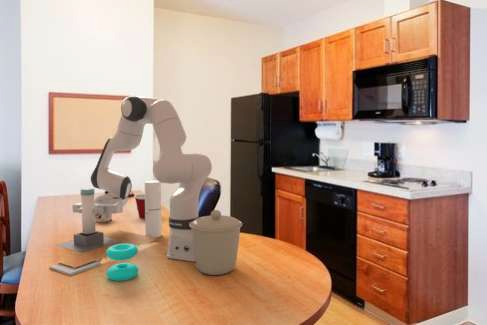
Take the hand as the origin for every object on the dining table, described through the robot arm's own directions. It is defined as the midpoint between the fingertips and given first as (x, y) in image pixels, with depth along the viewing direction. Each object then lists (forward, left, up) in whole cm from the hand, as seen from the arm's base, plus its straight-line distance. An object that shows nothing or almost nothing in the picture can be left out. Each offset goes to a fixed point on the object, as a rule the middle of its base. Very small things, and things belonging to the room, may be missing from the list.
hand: (87, 211), depth 151 cm
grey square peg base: (+1, -1, -15) cm, 15 cm away
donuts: (-36, +13, -15) cm, 42 cm away
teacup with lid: (+32, -33, -15) cm, 48 cm away
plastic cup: (+21, -51, -15) cm, 57 cm away
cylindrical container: (-10, -27, -15) cm, 33 cm away
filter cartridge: (0, -1, -9) cm, 9 cm away
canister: (-59, -8, -15) cm, 62 cm away
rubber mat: (-15, +16, -15) cm, 27 cm away
